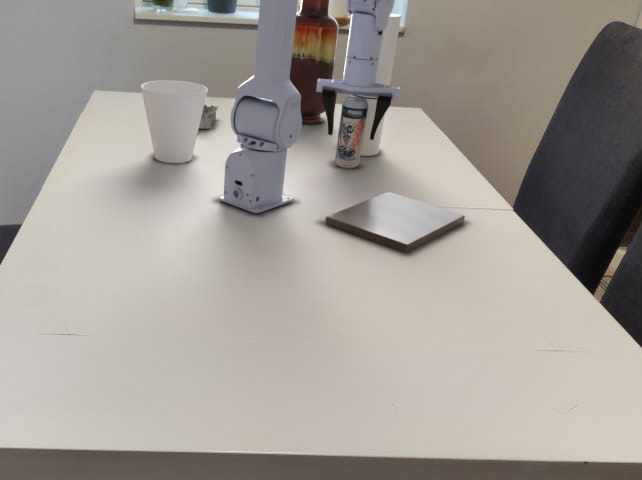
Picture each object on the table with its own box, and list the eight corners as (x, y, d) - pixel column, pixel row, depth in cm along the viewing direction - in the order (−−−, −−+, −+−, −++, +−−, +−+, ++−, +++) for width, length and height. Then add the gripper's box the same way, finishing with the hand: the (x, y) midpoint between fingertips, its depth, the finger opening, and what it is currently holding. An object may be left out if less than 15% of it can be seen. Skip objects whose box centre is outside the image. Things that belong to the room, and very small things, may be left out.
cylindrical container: (377, 147, 146) (399, 13, 132) (379, 157, 140) (403, 17, 126) (342, 144, 146) (361, 10, 133) (343, 153, 140) (363, 14, 127)
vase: (272, 113, 165) (282, -13, 151) (315, 112, 168) (330, -11, 154) (288, 125, 156) (301, -7, 142) (334, 124, 160) (351, -5, 146)
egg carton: (186, 116, 158) (187, 96, 156) (219, 119, 157) (220, 100, 155) (174, 127, 149) (175, 106, 147) (209, 130, 148) (210, 110, 146)
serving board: (405, 252, 100) (407, 244, 99) (325, 223, 107) (326, 216, 106) (463, 222, 111) (465, 215, 111) (387, 198, 119) (388, 191, 118)
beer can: (330, 166, 133) (338, 99, 126) (339, 160, 136) (348, 95, 130) (354, 171, 131) (364, 103, 124) (362, 164, 134) (373, 99, 128)
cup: (162, 170, 124) (162, 96, 117) (129, 152, 131) (127, 82, 125) (218, 162, 130) (221, 91, 123) (183, 145, 138) (184, 78, 131)
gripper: (404, 57, 126) (390, 135, 133) (323, 49, 128) (314, 126, 135) (404, 64, 120) (390, 144, 127) (319, 55, 122) (310, 135, 129)
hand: (350, 136), depth 131 cm, fingers open, 7 cm apart
